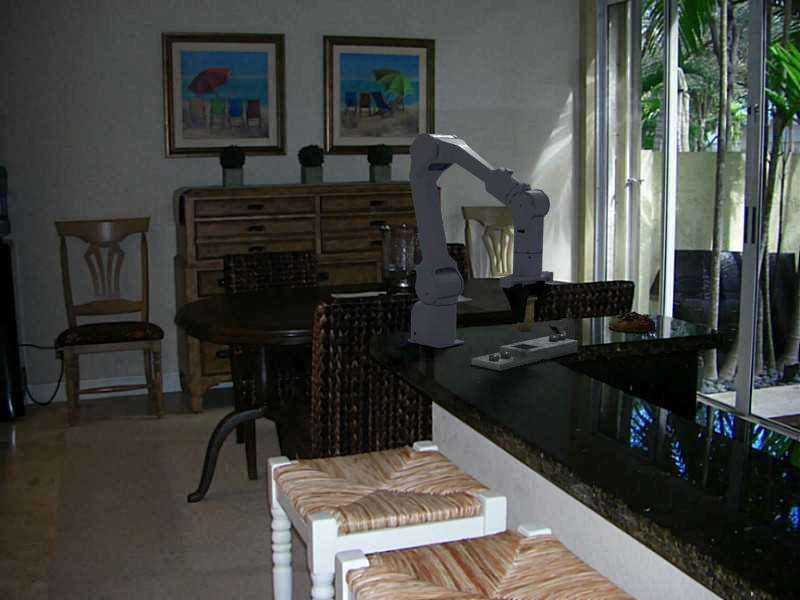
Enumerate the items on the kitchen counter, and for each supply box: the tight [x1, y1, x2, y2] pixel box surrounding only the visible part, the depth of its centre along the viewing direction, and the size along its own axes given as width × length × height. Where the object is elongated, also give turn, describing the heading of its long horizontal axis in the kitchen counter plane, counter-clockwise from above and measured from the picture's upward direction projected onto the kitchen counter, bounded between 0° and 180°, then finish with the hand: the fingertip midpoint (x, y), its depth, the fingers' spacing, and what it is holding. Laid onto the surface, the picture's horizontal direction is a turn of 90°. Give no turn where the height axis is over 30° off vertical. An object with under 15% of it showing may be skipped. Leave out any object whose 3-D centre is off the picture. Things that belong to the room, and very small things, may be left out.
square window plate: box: [471, 351, 551, 372], centre depth 185 cm, size 7×16×2 cm, turn 135°
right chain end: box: [499, 333, 579, 360], centre depth 191 cm, size 7×17×3 cm, turn 135°
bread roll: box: [608, 311, 656, 334], centre depth 222 cm, size 11×11×5 cm
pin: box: [516, 294, 538, 333], centre depth 187 cm, size 4×4×7 cm
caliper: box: [548, 312, 574, 340], centre depth 215 cm, size 20×1×6 cm, turn 3°
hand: (525, 320), depth 187 cm, fingers closed on pin, 4 cm apart
